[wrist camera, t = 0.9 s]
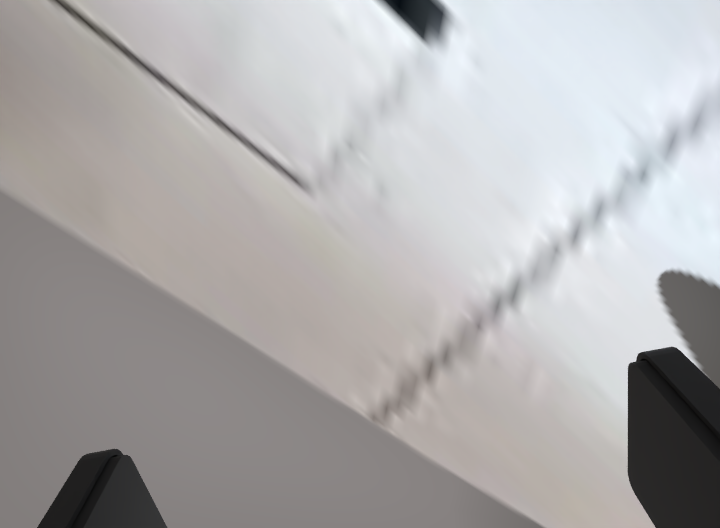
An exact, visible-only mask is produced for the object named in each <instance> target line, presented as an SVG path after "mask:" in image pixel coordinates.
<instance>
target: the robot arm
mask: <svg viewBox="0 0 720 528" xmlns="http://www.w3.org/2000/svg"><path fill="white" fill-rule="evenodd" d="M628 476H629V481H630V484H631V486H632V489H633V491H634V493H635V495H636V496H637V498H638V500H639V501H640V503H641V504H642V506H643V508H644V509H645V511H646V513H647V514H648V516H649V517H650V519H651V521H652V522H653V524H654V525H655V527H656V528H720V389H719V388H718V387H717V386H716V385H715V384H714V383H713V382H712V381H711V380H710V379H709V378H708V377H707V376H706V375H705V374H704V373H703V372H702V371H700V370H699V369H698V368H697V367H696V366H695V365H694V364H693V363H692V362H691V361H690V360H689V359H688V358H687V357H686V356H685V355H684V354H683V353H682V352H681V351H680V350H678V349H677V348H675V347H668V348H663V349H657V350H652V351H646V352H641V353H639V354H638V356H637V360H636V362H633V363H630V364H629V366H628ZM37 528H167V526H166V525H165V522H164V521H163V519H162V517H161V515H160V513H159V511H158V509H157V507H156V505H155V503H154V501H153V499H152V497H151V495H150V493H149V491H148V490H147V488H146V486H145V484H144V482H143V480H142V478H141V476H140V474H139V472H138V470H137V468H136V466H135V464H134V462H133V461H132V459H131V457H130V456H128V455H123V454H122V453H121V451H119V450H118V449H111V450H106V451H100V452H95V453H89V454H86V455H84V456H82V458H81V459H80V460H79V461H78V463H77V465H76V466H75V468H74V470H73V471H72V473H71V474H70V476H69V477H68V479H67V481H66V482H65V484H64V486H63V487H62V489H61V490H60V492H59V494H58V495H57V497H56V498H55V500H54V502H53V503H52V505H51V506H50V508H49V510H48V512H47V513H46V515H45V516H44V518H43V519H42V521H41V522H40V524H39V526H38V527H37Z"/></svg>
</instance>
